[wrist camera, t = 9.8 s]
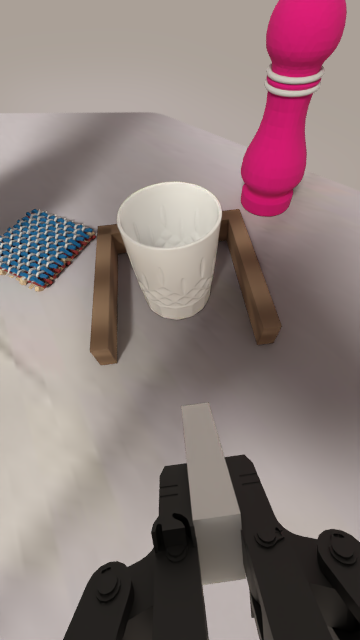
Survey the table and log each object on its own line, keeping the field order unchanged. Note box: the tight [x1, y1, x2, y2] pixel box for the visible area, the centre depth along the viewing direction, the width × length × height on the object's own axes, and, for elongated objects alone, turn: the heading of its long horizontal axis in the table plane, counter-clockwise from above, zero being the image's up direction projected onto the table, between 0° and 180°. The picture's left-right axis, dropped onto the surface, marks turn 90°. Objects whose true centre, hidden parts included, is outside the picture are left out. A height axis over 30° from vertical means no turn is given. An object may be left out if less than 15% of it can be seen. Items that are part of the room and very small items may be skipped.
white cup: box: [117, 182, 222, 320], centre depth 25 cm, size 8×8×10 cm
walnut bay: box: [90, 209, 282, 365], centre depth 28 cm, size 16×16×3 cm
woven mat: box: [0, 209, 96, 291], centre depth 33 cm, size 10×11×2 cm
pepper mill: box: [241, 0, 347, 216], centre depth 28 cm, size 7×7×20 cm
